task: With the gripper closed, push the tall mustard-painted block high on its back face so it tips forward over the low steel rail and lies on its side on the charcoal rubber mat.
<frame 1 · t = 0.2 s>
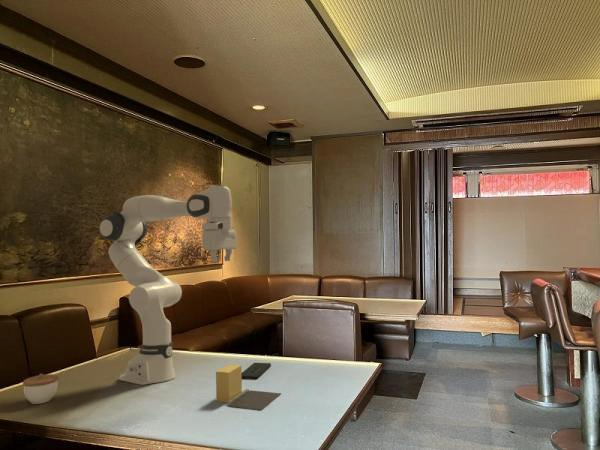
hand: (221, 261, 170), 47 cm above the table, tool pointing down, fingers open, 8 cm apart
mustard block: (229, 397, 153), on the table
lidded jar: (40, 401, 155), on the table
topple stop: (252, 399, 150), on the table
smart home device: (255, 373, 184), on the table
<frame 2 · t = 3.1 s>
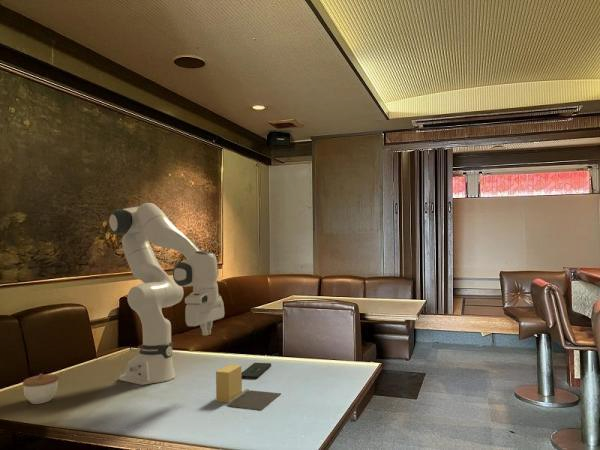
hand: (206, 334, 158), 21 cm above the table, tool pointing down, fingers closed
nothing on the table moved.
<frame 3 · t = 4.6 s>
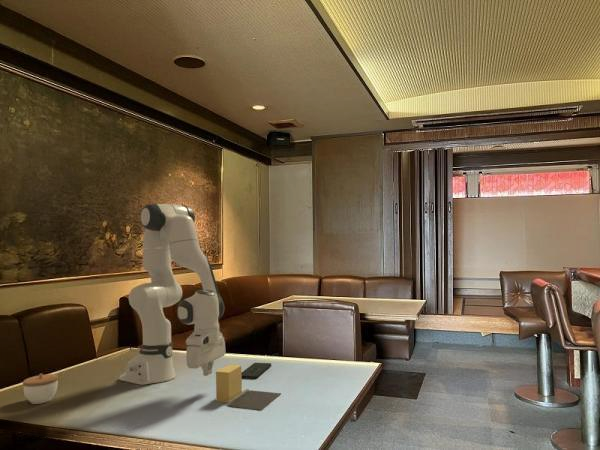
hand: (207, 374, 157), 7 cm above the table, tool pointing down, fingers closed
nothing on the table moved.
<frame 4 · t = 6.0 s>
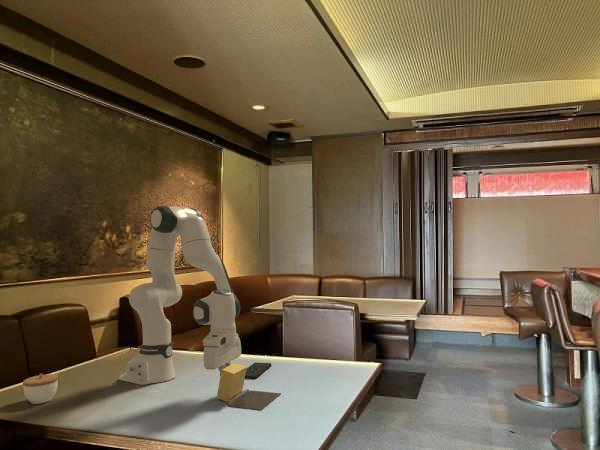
hand: (224, 375, 154), 7 cm above the table, tool pointing down, fingers closed, pressing on mustard block
mustard block: (229, 396, 153), on the table, tilted 12°, touching gripper
everything else where it was.
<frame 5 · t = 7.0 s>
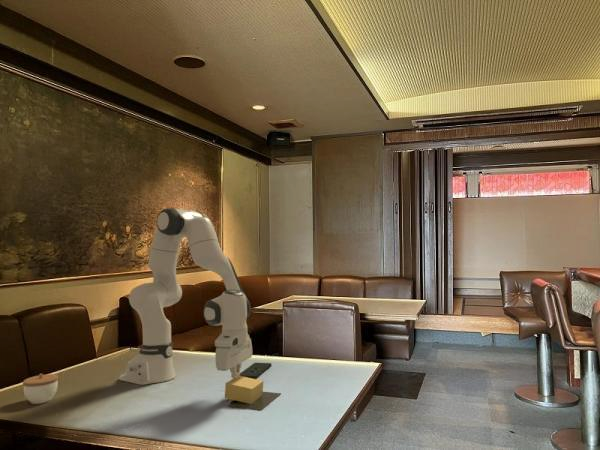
hand: (235, 376, 153), 7 cm above the table, tool pointing down, fingers closed
mustard block: (231, 386, 153), point 4 cm above the table, tilted 96°, touching topple stop
everything else where it was.
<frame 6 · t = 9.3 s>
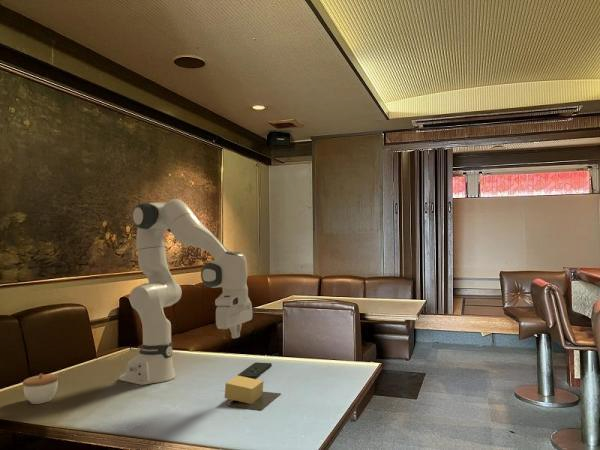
hand: (235, 337, 154), 21 cm above the table, tool pointing down, fingers closed
nothing on the table moved.
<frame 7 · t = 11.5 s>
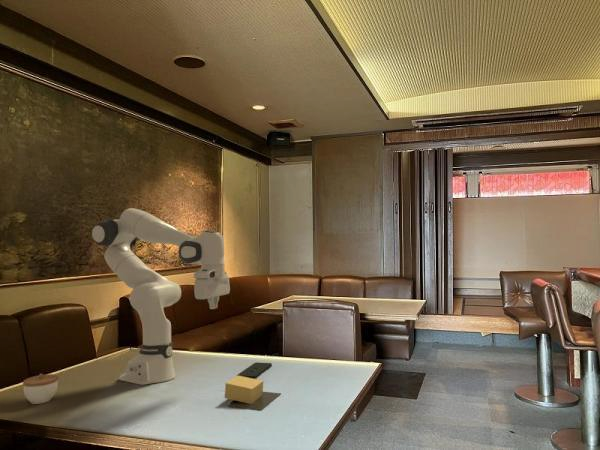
hand: (213, 308, 168), 29 cm above the table, tool pointing down, fingers closed
nothing on the table moved.
at the end: mustard block tilted 96°; mustard block inside the target area (4.5 cm from its centre), point 3.9 cm above the table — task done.
